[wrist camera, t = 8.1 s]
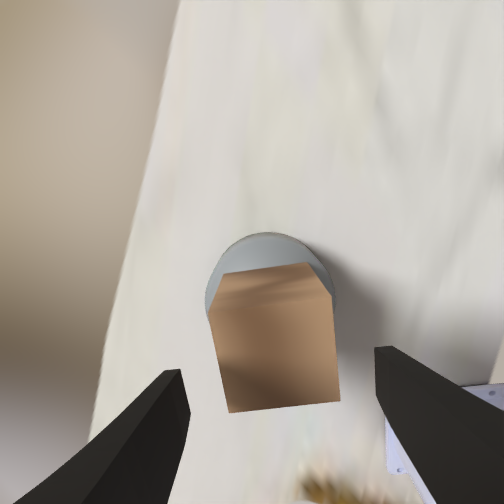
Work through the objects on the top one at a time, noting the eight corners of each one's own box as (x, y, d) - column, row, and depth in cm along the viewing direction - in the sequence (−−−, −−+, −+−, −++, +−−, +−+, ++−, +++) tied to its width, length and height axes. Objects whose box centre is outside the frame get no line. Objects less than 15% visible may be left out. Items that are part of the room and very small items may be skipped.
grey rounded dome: (318, 224, 17) (330, 231, 14) (326, 328, 19) (339, 353, 16) (204, 240, 18) (193, 250, 15) (223, 340, 20) (217, 367, 17)
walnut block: (307, 261, 15) (331, 296, 10) (314, 336, 16) (340, 401, 11) (223, 273, 15) (207, 313, 10) (237, 346, 16) (229, 413, 11)
